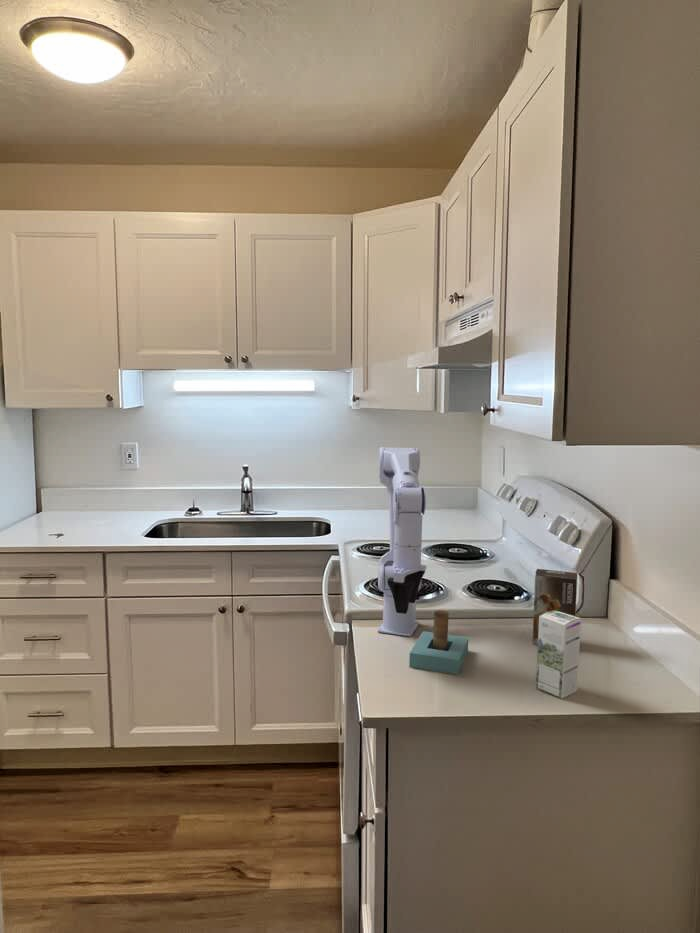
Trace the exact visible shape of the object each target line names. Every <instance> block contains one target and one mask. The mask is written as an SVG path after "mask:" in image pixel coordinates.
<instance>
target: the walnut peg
mask: <svg viewBox="0 0 700 933" xmlns="http://www.w3.org/2000/svg"><path fill="white" fill-rule="evenodd" d="M449 615H450V614H449V612H448V611H446V610H444V609H443V610H441V609H439V610H434V611H433V632H432V633H433V649H436V650H443V651H447V643H448V635H449Z"/></svg>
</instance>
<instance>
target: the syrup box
mask: <svg viewBox="0 0 700 933" xmlns="http://www.w3.org/2000/svg"><path fill="white" fill-rule="evenodd" d="M581 628H582V619H581V617H579V616H576V617H575V616H572V615H569V614H565V613H562V612H559V611H550V612H547V613H545V614H543V615H541V616H539V632H538V645H537V657H536V678H535V689H537V690H539V691H542V692H544V693H547V694H548V695H552V696H554V697H556V698H559V699H561V700H562V699H565V698H566V697H569V696H570V695H572V694H574V693H576V692H577V691H578V681H579V680H578V678H579V676H578V675H579V662H580V661H579V660H580V658H579V657H580V644H581V642H580V641H581ZM568 695H569V696H568Z"/></svg>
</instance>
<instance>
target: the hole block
mask: <svg viewBox="0 0 700 933" xmlns="http://www.w3.org/2000/svg"><path fill="white" fill-rule="evenodd" d="M469 639H470V638H469V637H467V636H459V635H454V634H453V635H452V634H448V643H447V651H443V650H436V649H433V632H430V631H424V630H423V631H422V633H421V634H420V636H419V637H418V639H417V641H416V642H415V644H414V645H413V646H412V649H411V650H410V652H409V663H408V664H409V666H408V668H413V669H421V670H426V671H433V672H438V673H446V674H451V675H458V676H459V674H460V671H461V669H462V666H463V665H464V661H465V659H466V657H467V654H468V651H469Z"/></svg>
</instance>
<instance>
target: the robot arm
mask: <svg viewBox="0 0 700 933" xmlns="http://www.w3.org/2000/svg"><path fill="white" fill-rule="evenodd" d="M420 451H421V450H420V448H418V447H384V446H381V447H380V448H379V449H378V478H379V483H380V484H382V485H383V486H385V487H386V490H387V492H388V493H387V494H388V506H389V507H388V508H389V551H387V552H386V553H385V554H383V555H382V556H381V557H380V559H379V560H378V568H377V569H378V571H377V576H378V577H377V584H378V586H377V587H378V590H380V592H383V602H382V603H383V607H382V611H383V612H382V624H380V626H379V627H378V628H377V632H378V633H383V634H388V635H389V634H390V635H398V636H404V637H411V636H413V633H414V632H415V631H416V629H417V627H418V626H419V625H420V621H419V620H416V614H417V613H416V611H417V608H416V606H417V598H418V597H417V596H418V594H419V593H418V592H419V591H420V590H421V588H422V579H423V576H424V575H425V573H426V571H427V565H426V564H422V542H423V540H422V538H423V536H422V535H423V516H424V515H425V512H426V506H427V497H426V490H425V486H421V485H420V482H419V478H418V477H419V471H420V468H421V465H420V464H421V452H420Z"/></svg>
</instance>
